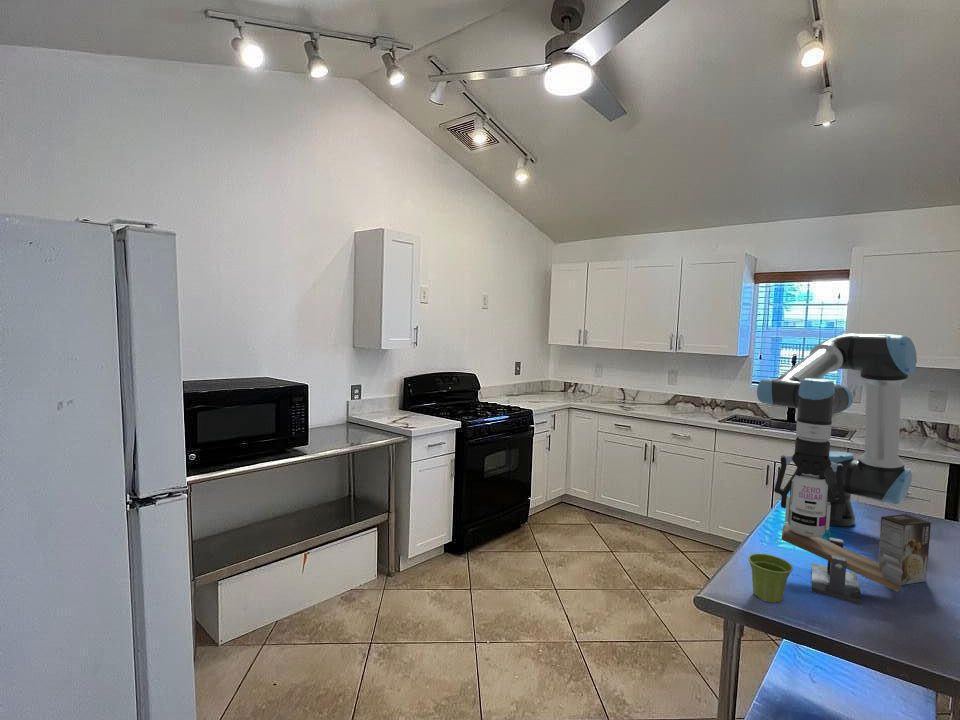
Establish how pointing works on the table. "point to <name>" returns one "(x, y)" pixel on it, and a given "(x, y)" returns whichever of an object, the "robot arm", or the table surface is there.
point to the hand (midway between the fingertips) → (806, 524)
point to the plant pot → (769, 576)
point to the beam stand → (836, 579)
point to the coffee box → (906, 545)
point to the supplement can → (808, 505)
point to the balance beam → (849, 558)
